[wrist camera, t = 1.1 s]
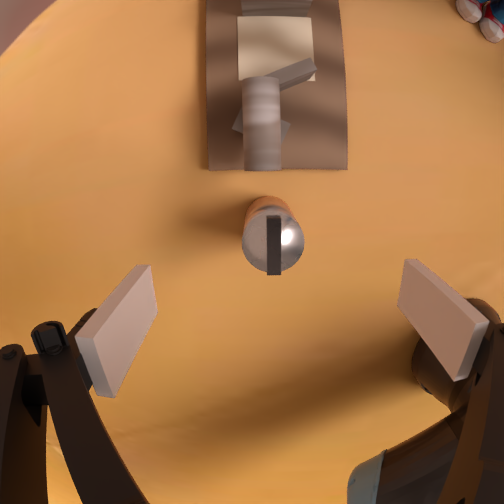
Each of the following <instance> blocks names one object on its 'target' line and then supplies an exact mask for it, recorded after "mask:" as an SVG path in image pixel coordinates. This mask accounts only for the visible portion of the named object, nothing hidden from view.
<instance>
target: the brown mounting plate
mask: <svg viewBox="0 0 504 504" xmlns="http://www.w3.org/2000/svg"><path fill="white" fill-rule="evenodd" d="M206 98H207V136H208V163H209V171H218V170H244V171H277V170H281V169H336V170H347V165H348V139H347V99H346V79H345V63H344V50H343V39H342V28H341V19H340V11H339V3H338V0H206Z"/></svg>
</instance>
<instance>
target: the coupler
mask: <svg viewBox="0 0 504 504" xmlns="http://www.w3.org/2000/svg"><path fill="white" fill-rule="evenodd" d="M242 249H243V252H244V255H245V257H246V259H247V260H248V261H249V262H250V263H251V264H252V265H253V266H254V267H256V268H257V269H259V270H262V271H265V272H267V275H281V271H284V270H286V269H288V268H290V267H291V266H293V265H294V264H295V263H296V262H297V261H298V260H299V258H300V256H301V255H302V252H303V249H304V235H303V232H302V230H301V228H300V226H299V224H298V222H297V220H296V219H295V217H294V215H293V213H292V212H291V210H290V208H289V207H288V205H287V204H286V203H285V202H284V201H283V200H281V199H279V198H277V197H273V196H265V197H261V198H259V199H257V200H255V201H254V202H253V203H252V204H251V205H250V206H249V208H248V210H247V212H246V217H245V223H244V230H243V237H242Z"/></svg>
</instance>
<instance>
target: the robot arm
mask: <svg viewBox="0 0 504 504" xmlns="http://www.w3.org/2000/svg"><path fill="white" fill-rule="evenodd" d="M397 306H398V308H399V309H400V310H401V311H402V313H403V314H404V315H405V317H406V318H407V319H408V320H409V322H410V323H411V324H412V325H413V327H414V328H415V329H416V331H417V332H418V333H419V335H420V336H421V339H420V340H419V342H418V344H417V346H416V349H415V351H414V355H413V359H412V371H413V374H414V376H415V378H416V380H417V382H418V383H419V385H420V386H421V388H422V389H423V390H424V391H426V392H427V393H429V394H432V395H433V396H434V397H435V398H436V399H438V400H439V401H440V402H442V403H443V404H445V405H446V406H447V407H448V408H449V410H450V411H451V414H450V415H448V416H447V417H445V418H444V419H442V420H440V421H439V422H437V423H435V424H434V425H432V426H430V427H429V428H427V429H425V430H424V431H422V432H420V433H418V434H417V435H415V436H413V437H411V438H409V439H408V440H406V441H404V442H402V443H400V444H398V445H396V446H394V447H392V448H390V449H388V450H387V449H386V450H384V451H382V452H381V454H379V455H377V456H375V457H373V458H371V459H369V460H367V461H365V462H363V463H361V464H359V465H358V466H357V467H355V469H354V470H353V471H352V473H351V475H350V477H349V481H348V487H347V504H504V323H501V320H500V317H499V315H498V313H497V312H496V311H495V310H494V309H493V308H492V307H491V306H490V305H489V304H487V303H486V302H485V301H483V300H480V299H468V300H467V299H465V298H463V297H462V296H461V295H460V294H459V293H457V292H456V291H455V290H454V289H453V288H452V287H450V286H449V285H448V284H447V283H446V282H444V281H443V280H442V279H441V278H440V277H438V276H437V275H436V274H435V273H434V272H432V271H431V270H430V269H429V268H427V267H426V266H425V265H424V264H422V263H421V262H420V261H419V260H417V259H405V262H404V268H403V275H402V281H401V286H400V292H399V297H398V303H397ZM157 313H158V310H157V304H156V298H155V292H154V286H153V279H152V273H151V266H150V265H136V266H135V267H134V268H133V269H132V270H131V271H130V273H129V274H128V275H127V276H126V277H125V278H124V279H123V280H122V281H121V283H120V284H119V285H118V286H117V287H116V288H115V289H114V291H113V292H112V293H111V294H110V295H109V296H108V297H107V299H106V300H105V301H104V302H103V303H102V304H101V305H100V307H99V308H94V309H92V310H90V311H89V312H87V313H85V314H84V316H83V317H82V318H81V319H80V321H78V322H77V324H76V325H75V326H74V327H73V328H72V329H71V331H70V332H69V333H68V334H67V335H66V333H65V330H64V327H63V325H62V323H61V322H58V321H48V322H44V323H42V324H39V325H38V326H36V327H35V328H34V329H33V330H32V332H31V337H32V340H33V342H34V345H35V347H36V350H37V352H38V354H32V355H26V354H25V352H24V350H23V348H22V346H21V345H18V344H11V345H6V346H4V347H2V349H0V504H48V494H47V477H46V424H47V407H48V405H49V408H50V412H51V416H52V420H53V423H54V427H55V430H56V434H57V437H58V440H59V443H60V446H61V449H62V452H63V455H64V458H65V461H66V464H67V466H68V469H69V472H70V474H71V477H72V480H73V482H74V484H75V487H76V489H77V492H78V494H79V496H80V499H81V501H82V503H83V504H149V502H148V501H147V499H146V498H145V496H144V495H143V493H142V492H141V490H140V489H139V487H138V485H137V484H136V482H135V481H134V479H133V477H132V476H131V474H130V472H129V471H128V469H127V467H126V466H125V464H124V462H123V460H122V459H121V457H120V455H119V453H118V451H117V449H116V448H115V446H114V444H113V442H112V440H111V438H110V436H109V434H108V432H107V430H106V428H105V426H104V424H103V422H102V420H101V418H100V416H99V414H98V411H97V409H96V407H95V405H94V403H93V400H92V398H91V396H90V394H89V390H90V388H91V386H92V384H93V387H94V389H95V391H96V394H97V395H98V396H104V397H110V398H115V396H116V394H117V392H118V390H119V388H120V386H121V384H122V382H123V380H124V378H125V376H126V374H127V372H128V370H129V368H130V366H131V364H132V362H133V360H134V358H135V356H136V354H137V352H138V350H139V348H140V346H141V344H142V342H143V340H144V338H145V336H146V334H147V332H148V330H149V328H150V327H151V325H152V323H153V321H154V319H155V317H156V315H157Z"/></svg>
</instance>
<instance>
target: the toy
mask: <svg viewBox="0 0 504 504" xmlns="http://www.w3.org/2000/svg"><path fill="white" fill-rule="evenodd" d="M487 1H489V2H487ZM484 2H487V3H486V4H485V5H484V8H483V14H482V10H481V7H482V5H483V3H484ZM456 8H457V11H458V12H459V13H460V15H461V16H462V17H463V19H464V20H466V21H468V22H471V23H475V22H477V21H479V20H480V21H479V26H480V30H481V32H482V33H483V35H484V36H485V38H486V39H487V40H489V41H491V42H493V43H497V42H499V41H500V40H501V39H502V38H503V37H504V0H491V1H490V0H456ZM481 16H482V17H481ZM480 18H481V19H480Z"/></svg>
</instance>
